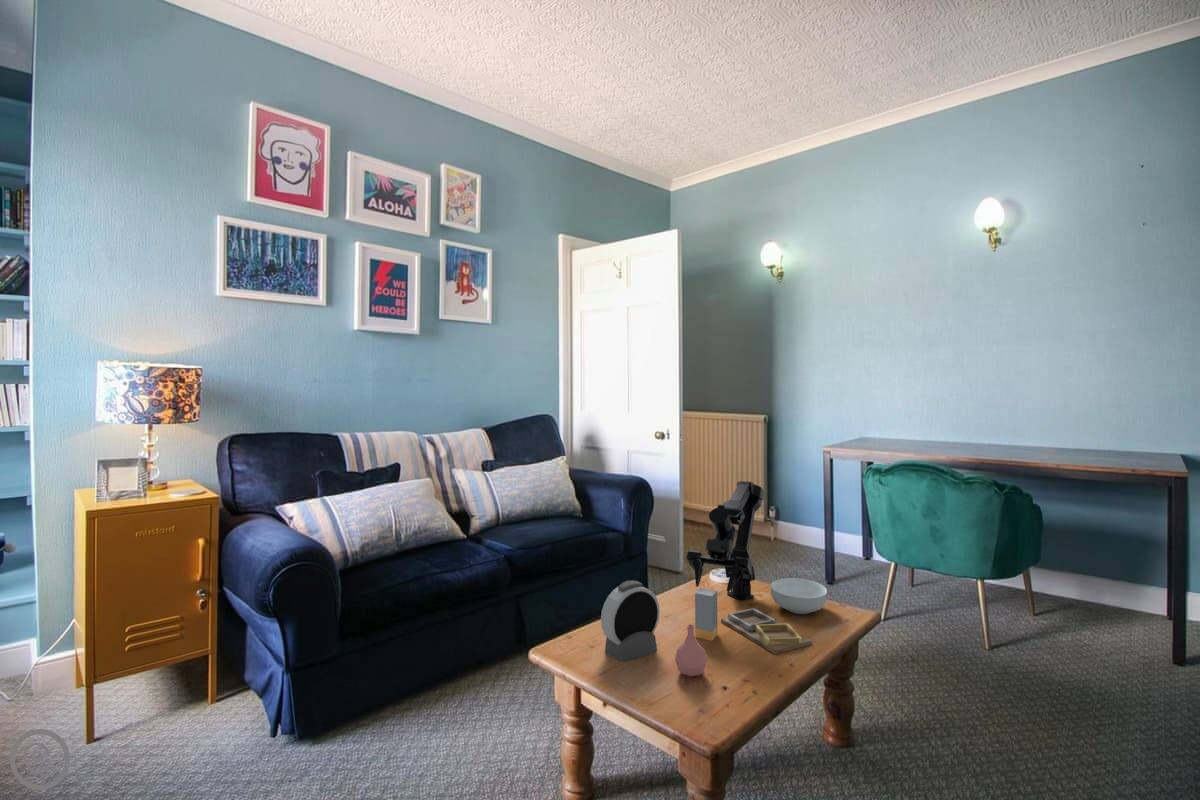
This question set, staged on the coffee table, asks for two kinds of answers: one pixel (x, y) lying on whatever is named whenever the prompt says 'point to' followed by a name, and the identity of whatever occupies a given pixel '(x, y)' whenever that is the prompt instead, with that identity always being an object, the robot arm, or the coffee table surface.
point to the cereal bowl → (799, 595)
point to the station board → (765, 631)
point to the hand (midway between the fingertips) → (712, 588)
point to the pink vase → (690, 655)
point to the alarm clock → (630, 621)
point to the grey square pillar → (706, 614)
